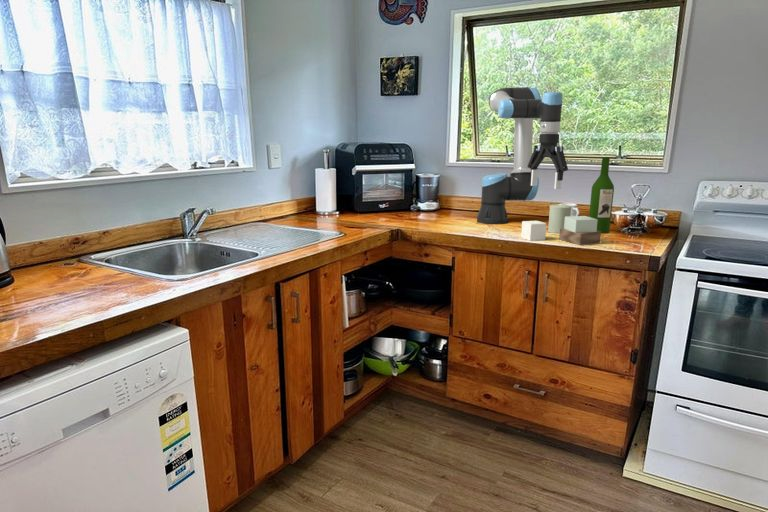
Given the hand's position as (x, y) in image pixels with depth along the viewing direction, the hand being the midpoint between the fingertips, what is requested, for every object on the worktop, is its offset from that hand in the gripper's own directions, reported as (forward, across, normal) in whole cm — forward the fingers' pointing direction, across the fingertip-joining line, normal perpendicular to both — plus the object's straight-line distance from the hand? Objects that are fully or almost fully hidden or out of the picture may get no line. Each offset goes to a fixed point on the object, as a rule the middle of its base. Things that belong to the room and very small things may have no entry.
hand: (545, 187), depth 200 cm
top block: (+17, +10, +10) cm, 22 cm away
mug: (+22, -18, +33) cm, 44 cm away
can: (+22, -8, +17) cm, 29 cm away
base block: (+22, +11, +10) cm, 26 cm away
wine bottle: (+22, -1, +33) cm, 40 cm away
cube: (+22, -2, -3) cm, 22 cm away
